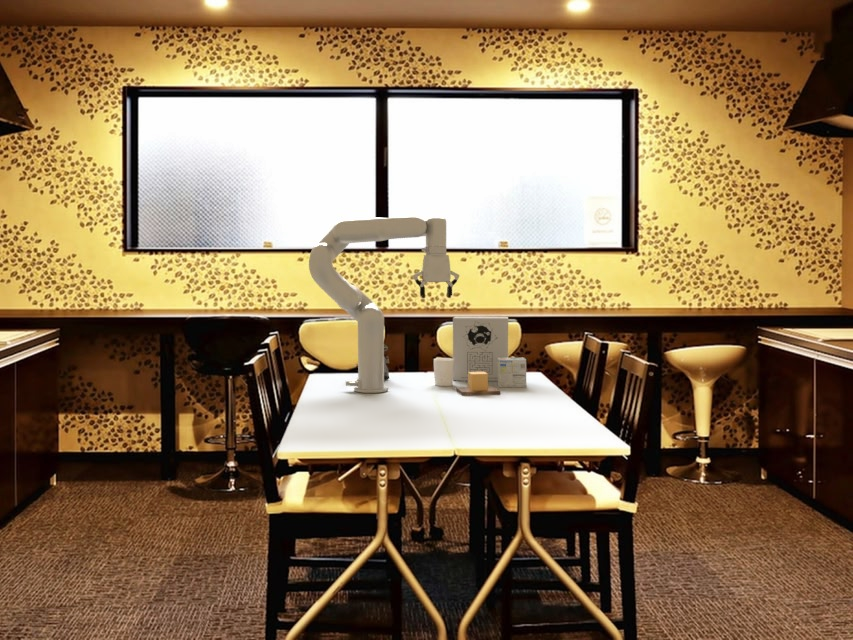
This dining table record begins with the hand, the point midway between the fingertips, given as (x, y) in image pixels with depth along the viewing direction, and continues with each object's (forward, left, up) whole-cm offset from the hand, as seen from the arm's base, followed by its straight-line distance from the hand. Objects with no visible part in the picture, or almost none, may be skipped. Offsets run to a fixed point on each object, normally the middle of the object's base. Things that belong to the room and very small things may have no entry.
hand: (436, 297), depth 340 cm
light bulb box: (+30, +4, -35) cm, 46 cm away
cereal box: (+22, +22, -34) cm, 46 cm away
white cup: (+5, +11, -34) cm, 37 cm away
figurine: (-20, +29, -34) cm, 49 cm away
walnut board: (+14, -8, -34) cm, 38 cm away
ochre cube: (+14, -8, -33) cm, 37 cm away
